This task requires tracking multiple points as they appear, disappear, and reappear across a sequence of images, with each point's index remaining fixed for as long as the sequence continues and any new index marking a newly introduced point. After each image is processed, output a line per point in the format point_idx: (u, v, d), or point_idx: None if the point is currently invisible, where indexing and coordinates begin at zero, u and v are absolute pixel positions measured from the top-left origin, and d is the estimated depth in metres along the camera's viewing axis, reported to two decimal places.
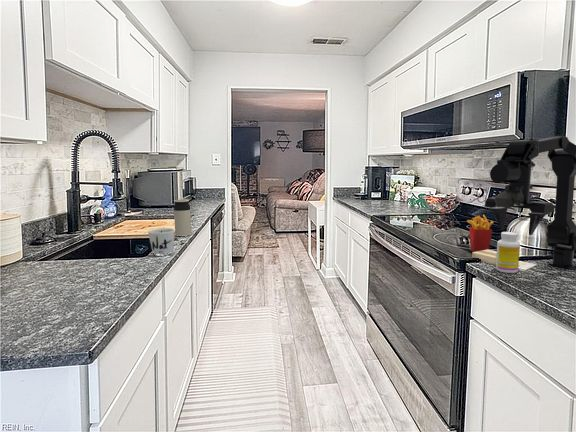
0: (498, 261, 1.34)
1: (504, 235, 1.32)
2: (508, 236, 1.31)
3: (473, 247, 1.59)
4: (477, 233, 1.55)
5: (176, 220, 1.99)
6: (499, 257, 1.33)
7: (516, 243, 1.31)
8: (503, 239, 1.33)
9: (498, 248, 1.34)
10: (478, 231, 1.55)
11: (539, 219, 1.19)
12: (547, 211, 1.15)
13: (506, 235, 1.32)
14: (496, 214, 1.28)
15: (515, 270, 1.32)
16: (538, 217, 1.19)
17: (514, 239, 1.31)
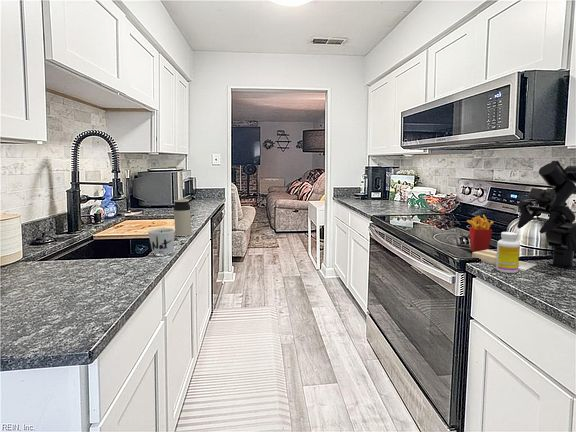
0: (498, 261, 1.34)
1: (504, 235, 1.32)
2: (508, 236, 1.31)
3: (473, 247, 1.59)
4: (477, 233, 1.55)
5: (176, 220, 1.99)
6: (499, 257, 1.33)
7: (516, 243, 1.31)
8: (503, 239, 1.33)
9: (498, 248, 1.34)
10: (478, 231, 1.55)
11: (556, 224, 1.29)
12: (567, 215, 1.26)
13: (506, 235, 1.32)
14: (522, 213, 1.40)
15: (515, 270, 1.32)
16: (556, 222, 1.29)
17: (514, 239, 1.31)
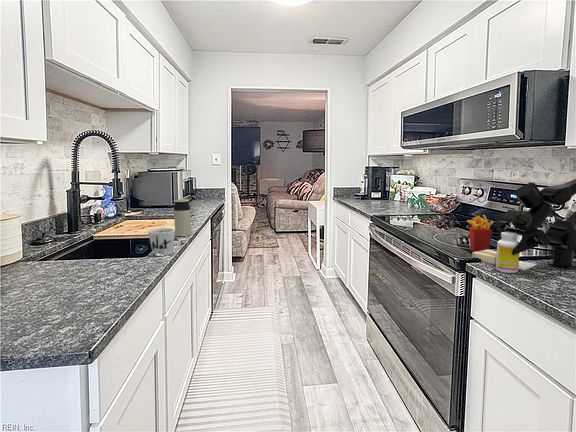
0: (498, 261, 1.34)
1: (504, 235, 1.32)
2: (508, 236, 1.31)
3: (473, 247, 1.59)
4: (477, 233, 1.55)
5: (176, 220, 1.99)
6: (499, 257, 1.33)
7: (516, 243, 1.31)
8: (503, 239, 1.33)
9: (498, 248, 1.34)
10: (478, 231, 1.55)
11: (527, 246, 1.29)
12: (541, 238, 1.25)
13: (506, 235, 1.32)
14: None
15: (515, 270, 1.32)
16: (528, 244, 1.29)
17: (514, 239, 1.31)
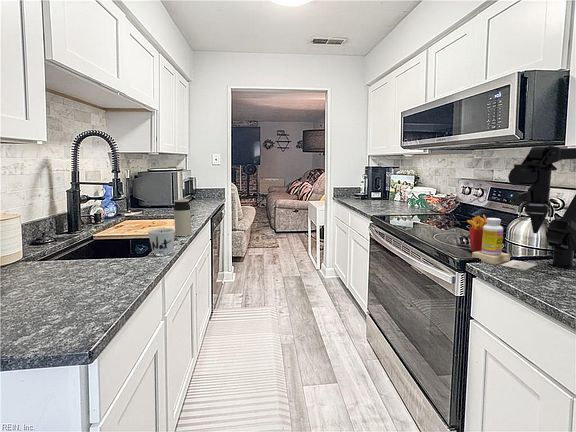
0: (482, 243, 1.49)
1: None
2: (488, 221, 1.46)
3: (473, 247, 1.59)
4: (477, 233, 1.55)
5: (176, 220, 1.99)
6: (482, 239, 1.49)
7: (495, 228, 1.44)
8: None
9: None
10: (478, 231, 1.55)
11: (540, 219, 1.29)
12: (532, 211, 1.27)
13: (487, 220, 1.46)
14: None
15: (493, 252, 1.45)
16: (539, 217, 1.29)
17: (494, 224, 1.45)
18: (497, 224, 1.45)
